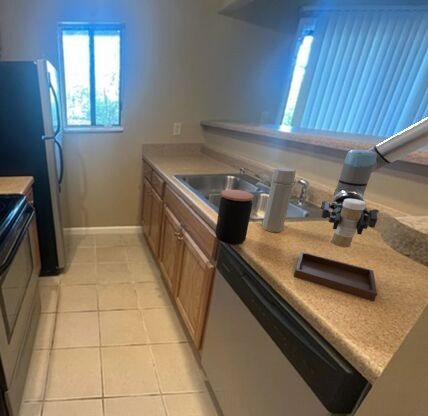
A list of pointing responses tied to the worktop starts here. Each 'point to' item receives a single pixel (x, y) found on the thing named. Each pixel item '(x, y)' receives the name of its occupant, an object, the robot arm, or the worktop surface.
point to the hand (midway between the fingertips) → (348, 227)
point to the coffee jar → (233, 216)
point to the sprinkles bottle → (348, 222)
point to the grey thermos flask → (278, 199)
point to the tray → (337, 275)
